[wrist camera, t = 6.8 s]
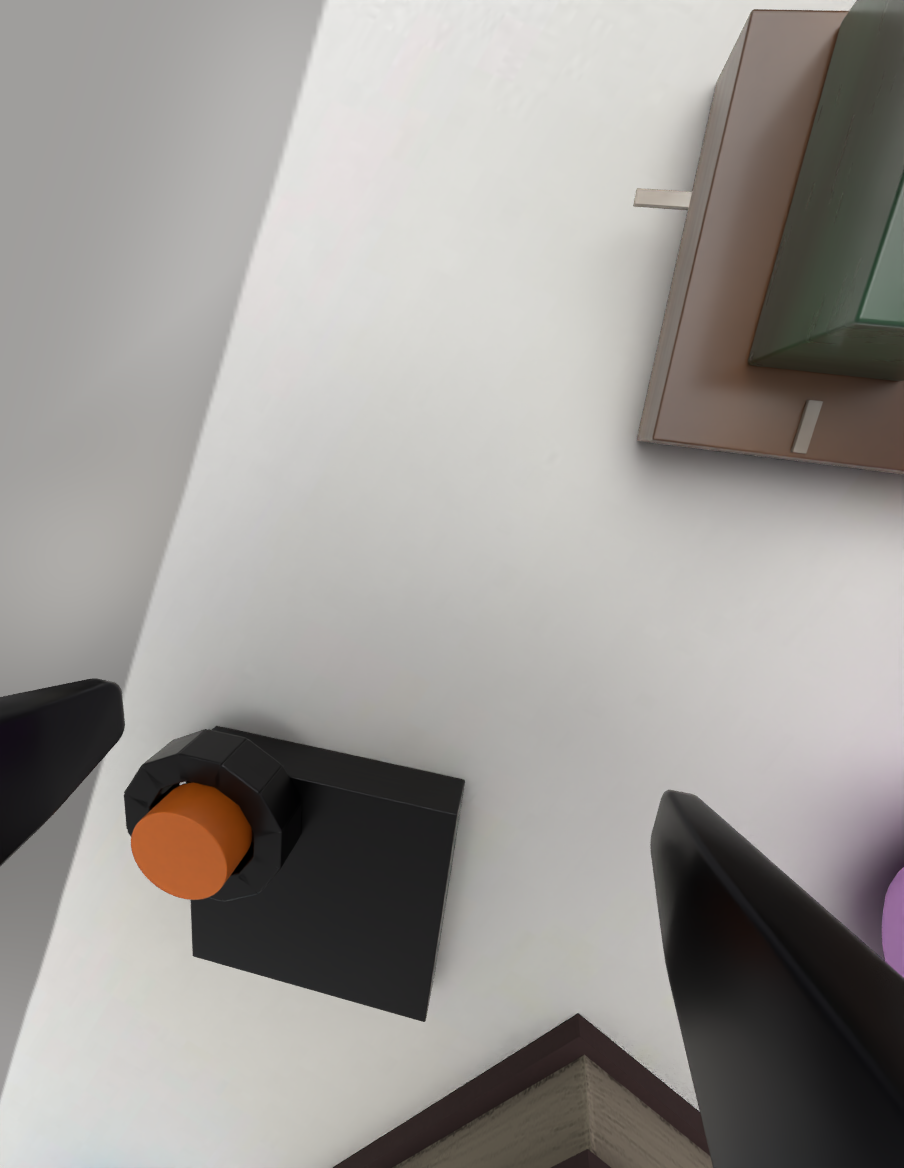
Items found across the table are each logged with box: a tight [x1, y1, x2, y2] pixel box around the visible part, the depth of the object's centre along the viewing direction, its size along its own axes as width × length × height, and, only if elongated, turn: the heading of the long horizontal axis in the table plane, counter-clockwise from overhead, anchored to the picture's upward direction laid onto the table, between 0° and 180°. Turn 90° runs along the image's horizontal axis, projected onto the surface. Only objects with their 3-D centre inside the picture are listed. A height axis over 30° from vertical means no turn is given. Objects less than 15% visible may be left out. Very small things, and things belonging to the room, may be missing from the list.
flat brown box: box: [633, 9, 904, 475], centre depth 13 cm, size 14×12×3 cm
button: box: [131, 783, 252, 900], centre depth 19 cm, size 4×4×2 cm
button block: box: [124, 726, 465, 1022], centre depth 22 cm, size 14×14×4 cm
